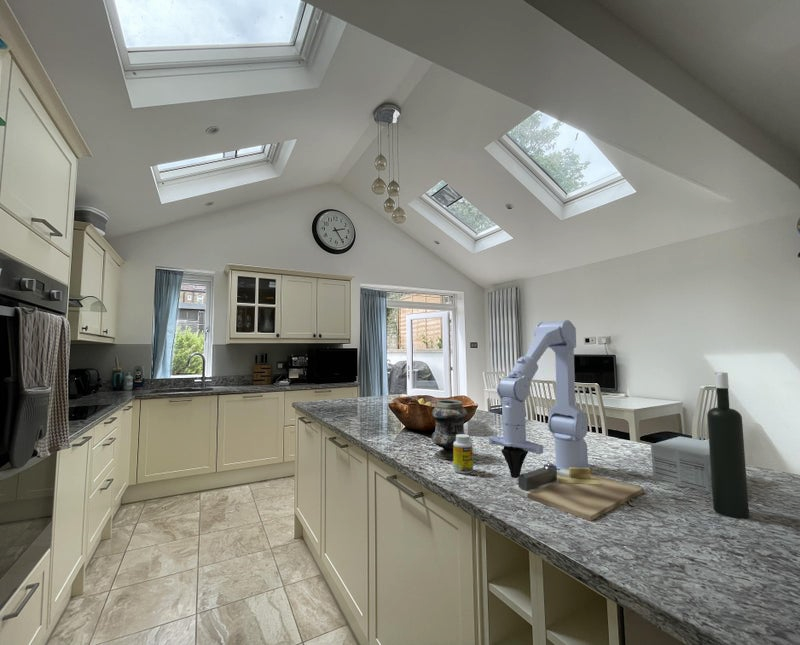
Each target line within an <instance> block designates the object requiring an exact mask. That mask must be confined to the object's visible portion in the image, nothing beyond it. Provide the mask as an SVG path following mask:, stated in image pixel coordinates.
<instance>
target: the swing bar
mask: <svg viewBox="0 0 800 645" xmlns="http://www.w3.org/2000/svg"><path fill="white" fill-rule="evenodd" d="M553 464H554V463H552V462H547V463H546V464H543V467H540V468H538V469H534V470H532V471H529V472H526V473H522V474H520V475H519V476H518V478H517V479H518V480H517V481H518V484H517V485H518V486H519V488H522V489H525V490H529V489H532V488H534V487H537V486H540V485H542V484H545V483H548V482H550V481H556V480H557V471H558V469H557V466H555V465H553Z"/></svg>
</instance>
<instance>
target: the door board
mask: <svg viewBox="0 0 800 645" xmlns="http://www.w3.org/2000/svg"><path fill="white" fill-rule="evenodd" d="M644 490H645V489H644V487H641V486H638V485H634V484H630V483H626V482H622V481H619V480H615V479H612V478H607V477H603V476H599V475H597V474H596V475H595V474H592V473H591V468H582V467H569V468H564V469H561V470H559V469H557V480H556V481H550V482H548V483H545V484H542V485H540V486H537V487H534V488H532V489H529V490H525V489H522V488H519V486H518V484H515V485H513V486H510V487H509V491H510V493H512V494H513V493H514V494H516V495H518V496H521V497H524V498H527V499H530V500H532V501H535V502H538V503H539V504H544V505H545V506H549V507H552V508H554V509H557V510H560V511H562V512H564V513H568V514H571V515H573V516H577V517H579V518H582V519H583V520H587V521H590V522H592V521H594V520H595V519H597V518H599V517H601V516H602V515H604V514H607V513H609V512H610V511H612V510H614V509H615V508H617V507H619V506H621V505H622V504H624V503H627V502H629V501H631V500H632V499H634V498H636V497H638V496H640V495H641V494H643V493H644V492H645V491H644Z"/></svg>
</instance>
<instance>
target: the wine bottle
mask: <svg viewBox="0 0 800 645" xmlns="http://www.w3.org/2000/svg"><path fill="white" fill-rule="evenodd" d="M714 378H715V380H714V381H715V388H716V401H717V407H713V408H710V409H709V410H708V411H707V414H706V416H707V419H706V420H707V433H708V435H707V436H708V441H709V450H710V465H711V480H712V491H711V492H712V493H711V494H712V495H711V496H712V509H713V511H714V512H716V513H717V514H719V515H722V516H725V517H729V518H733V519H743V520H744V519H748V518H750V509H749V507H750V506H749V495H748V481H747V479H748V478H747V469H746V468H747V467H746V456H745V441H744V429H743V428H744V424H743V416H742V414H741V413H740V412H739V411H738V410H736V409H733V408H730V396H729V395H730V393H729V389H730V388H729V374H728V372H723V371H722V372H721V371H717V372H714Z"/></svg>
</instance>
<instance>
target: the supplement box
mask: <svg viewBox="0 0 800 645" xmlns="http://www.w3.org/2000/svg"><path fill="white" fill-rule="evenodd" d="M650 448H651V450H650V451H651V453H650V454H651V465H652V477H653V478H656V479H659V480H663V481H666V482H671V483H673V484H678V485H681V486H685V487H689V488H692V489H696V490H700V491H703V492H707V493H710V492H712V480H711V465H710V450H709V440H702V439H697V438H692V437H685V436H677V437H673V438H669V439H666V440H662V441H658V442H656V443H651V444H650Z"/></svg>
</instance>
